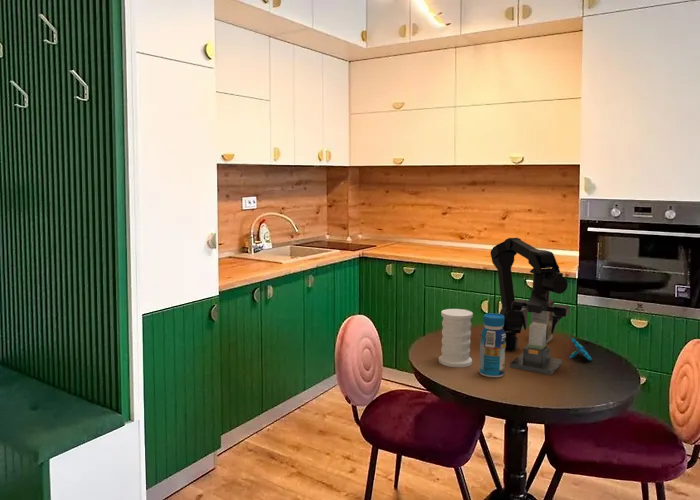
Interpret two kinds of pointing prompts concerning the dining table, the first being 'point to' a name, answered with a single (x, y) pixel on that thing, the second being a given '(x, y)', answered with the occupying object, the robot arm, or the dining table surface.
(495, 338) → the beverage bottle
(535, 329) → the block
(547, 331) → the coffee box
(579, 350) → the blue angular plastic piece
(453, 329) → the decorative container
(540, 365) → the stand
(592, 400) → the dining table surface
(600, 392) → the dining table surface
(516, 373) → the dining table surface
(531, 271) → the robot arm
